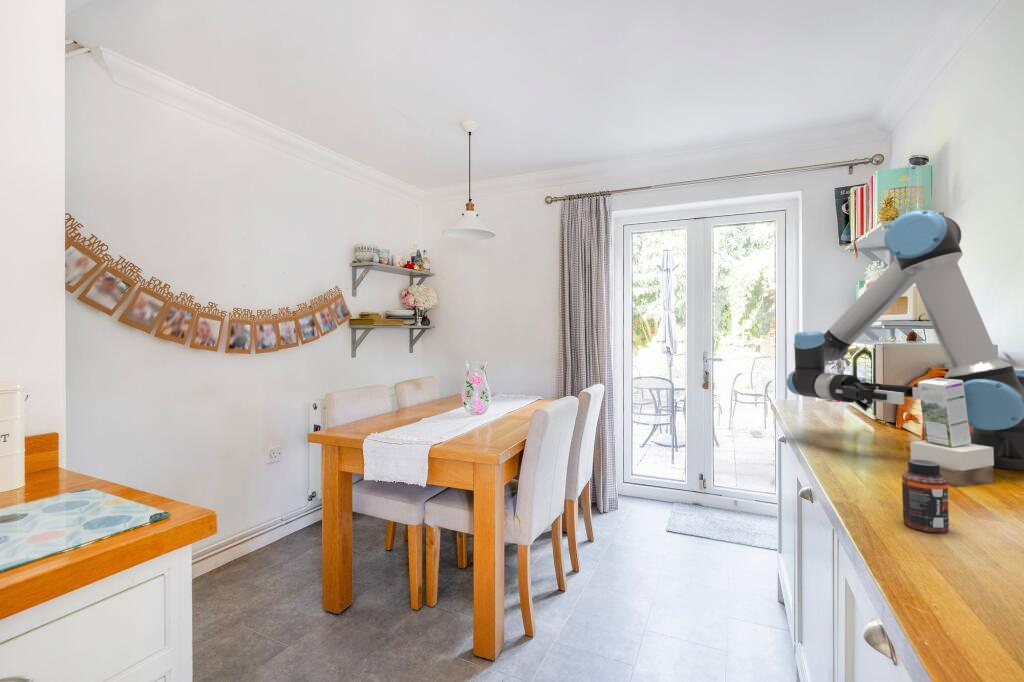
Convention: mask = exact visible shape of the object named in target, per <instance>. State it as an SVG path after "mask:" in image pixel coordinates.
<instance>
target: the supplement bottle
mask: <svg viewBox="0 0 1024 682" xmlns="http://www.w3.org/2000/svg"><path fill="white" fill-rule="evenodd" d="M908 467H909V468H910V470H909V471H908V470H907V471H905V472H903V474H902V476H901V491H902V495H901V496H902V497H901V498H902V518H903V522H904V524H905V525H906V526H908V527H910V528H912V529H914V530H918V531H921V532H927V533H933V534H941V533H946V532H947V531H949V529H950V528H949V527H950V521H949V520H950V518H949V517H950V516H949V487H948V483H947V480H946V479H945V478H944V477H943V476H942V475H941V474H940V473H939V471H940V468H939V464H938V463H936V462H933V461H927V460H909V466H908V465H907V468H908Z"/></svg>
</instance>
